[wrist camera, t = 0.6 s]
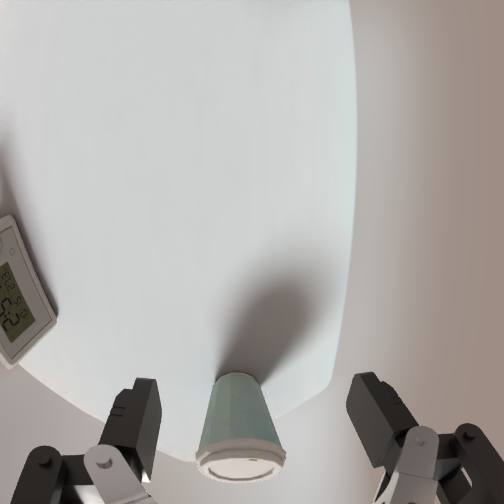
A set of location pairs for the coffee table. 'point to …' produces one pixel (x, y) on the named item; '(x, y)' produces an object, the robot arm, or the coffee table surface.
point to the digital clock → (20, 298)
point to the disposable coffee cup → (239, 433)
